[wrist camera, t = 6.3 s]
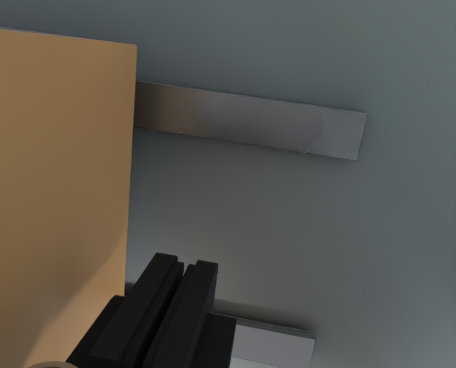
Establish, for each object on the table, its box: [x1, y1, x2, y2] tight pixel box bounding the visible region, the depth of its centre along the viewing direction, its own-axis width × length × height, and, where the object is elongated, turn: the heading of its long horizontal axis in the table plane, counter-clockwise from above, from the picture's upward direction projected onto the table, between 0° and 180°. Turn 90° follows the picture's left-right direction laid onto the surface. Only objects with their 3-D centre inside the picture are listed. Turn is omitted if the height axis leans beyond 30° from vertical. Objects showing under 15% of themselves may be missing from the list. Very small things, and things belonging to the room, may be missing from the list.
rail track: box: [124, 80, 368, 368], centre depth 16 cm, size 23×11×1 cm, turn 83°
